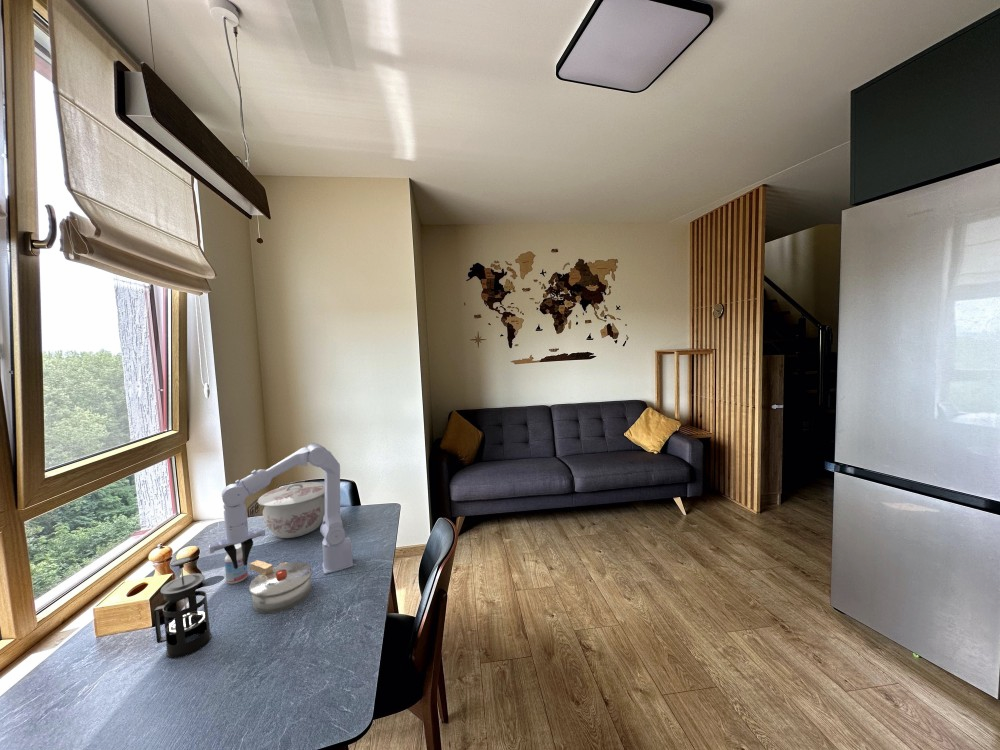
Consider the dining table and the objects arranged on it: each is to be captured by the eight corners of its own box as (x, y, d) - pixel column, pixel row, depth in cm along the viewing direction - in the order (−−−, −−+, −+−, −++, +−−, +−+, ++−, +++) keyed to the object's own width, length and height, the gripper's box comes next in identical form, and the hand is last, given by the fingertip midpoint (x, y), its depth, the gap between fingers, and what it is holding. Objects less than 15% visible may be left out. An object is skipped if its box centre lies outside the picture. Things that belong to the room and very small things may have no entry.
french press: (219, 627, 109) (211, 547, 108) (207, 650, 100) (198, 564, 99) (167, 639, 105) (158, 557, 104) (150, 665, 96) (140, 575, 95)
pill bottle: (237, 585, 129) (234, 552, 129) (222, 583, 131) (218, 551, 130) (252, 574, 135) (249, 543, 135) (237, 573, 137) (234, 542, 136)
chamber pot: (245, 541, 161) (240, 491, 160) (302, 514, 186) (298, 471, 185) (294, 551, 150) (289, 498, 149) (347, 521, 176) (343, 476, 174)
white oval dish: (309, 567, 138) (308, 553, 138) (312, 601, 119) (311, 585, 118) (256, 581, 131) (255, 567, 131) (250, 621, 111) (249, 604, 111)
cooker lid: (323, 571, 125) (323, 562, 125) (272, 603, 110) (271, 593, 110) (279, 557, 135) (278, 549, 135) (226, 585, 120) (225, 575, 120)
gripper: (259, 512, 129) (263, 552, 129) (204, 528, 118) (209, 571, 119) (265, 518, 124) (269, 559, 125) (209, 535, 113) (214, 580, 114)
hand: (240, 565), depth 121 cm, fingers closed
